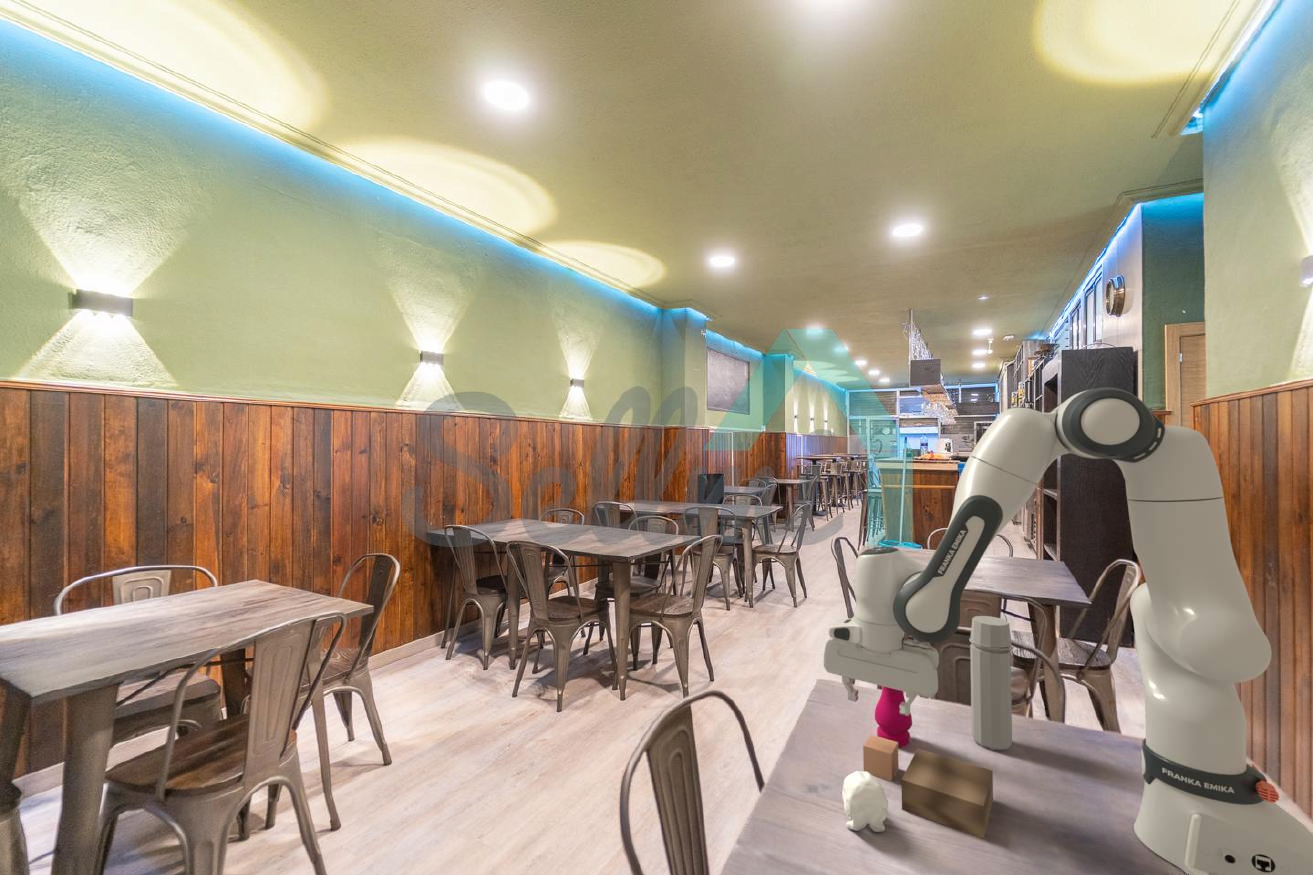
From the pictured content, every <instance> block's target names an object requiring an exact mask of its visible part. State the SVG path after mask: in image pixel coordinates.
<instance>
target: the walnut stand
mask: <svg viewBox="0 0 1313 875" xmlns="http://www.w3.org/2000/svg"><path fill="white" fill-rule="evenodd" d="M993 774H994V773H993V769H989V768H986V767H983V766H978V765H975V764H972V763H969V762H965V761H962V760H958V759H954V758H951V757H948V756H944V755H940V754H938V753H934V752H930V751H927V750H924V749H921V748H916V751H915V753H914V755H913V757H912V758H911V760H910V762H909V764H908V766H907V768H906V770H905V772H904V773H903V776H902V778H901V780H900V782H901V810H902V811H905V812H907V813H911V814H913V815H916V816H919V817H922V818H925V819H928V820H931V821H932V822H936V823H939V824H941V825H945V826H946V827H951V828H953V829H956V830H957V831H958V830H959V831H962V832H964V833H966V834H970V835H973V836H976V837H979V838H980V839H985V835H986V832H987V827H988V823H989V819H990V814H991V810H992V807H993V806H992V805H993V801H994V780H993V779H994V778H993V777H994V775H993Z"/></svg>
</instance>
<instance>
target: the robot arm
mask: <svg viewBox="0 0 1313 875" xmlns="http://www.w3.org/2000/svg"><path fill="white" fill-rule="evenodd" d="M1064 455H1070V456H1076V457H1083V458H1087V459H1092V460H1093V459H1096V460H1098V459H1107V460H1108V459H1109V460H1112V461H1114V462H1115V463H1116V464H1117V466H1118V467H1119V468H1120V471H1121V473H1122V475H1123V476H1122V477H1123V479H1124V480H1125V491H1126V492H1125V493H1126V501H1127V507H1128V508H1127V509H1128V518H1129V524H1130V532H1131V539H1132V540H1131V541H1132V546H1133V551H1134V553H1135V555H1136V556H1137V559H1138V561H1139V565H1140V567H1141V571H1142V574H1143V576H1144V580H1145V582H1143V583H1142V584H1139V586H1137V587H1136V588H1135V590H1134V591H1133V592H1132V594H1131V596H1130V600H1129V608H1130V613H1131V616H1132V621H1133V629H1134V638H1135V643H1136V644H1135V645H1136V650H1137V657H1138V662H1139V663H1138V664H1139V667H1140V672H1141V674H1140V675H1141V678H1142V683H1143V684H1142V685H1143V693H1144V712H1145V714H1144V715H1145V716H1144V718H1145V724H1144V726H1145V738H1143V739H1142V744H1141V745H1142V747H1141V752H1140V753H1141V754H1140V755H1141V756H1140V758H1141V773H1142V776H1143V779H1144V784H1143V785H1144V786H1143V793H1142V798H1141V802H1140V808H1139V812H1138V814H1137V818H1136V819H1135V821H1134V824H1133V831H1134V833H1135V835H1136V836H1137V838H1138V839H1139V840H1140V841H1141V842H1142V843H1143V844H1144V845H1145V846H1146V847H1147V848H1148V849H1149V850H1150V851H1152V852H1153V853H1155V854H1156V855H1158V856H1159V857H1160V858H1163V859H1164V860H1165V861H1167V862H1169V863H1170V864H1172V865H1174V866H1175V867H1177V868H1179V869H1180V870H1182V871H1183V872H1185V874H1187V875H1188V874H1189V875H1313V833H1312V831H1310V830H1309V828H1308V827H1307V826H1306V825H1305V824H1303V823H1302V822H1301V821H1300V820H1298V819H1297V818H1296V817H1294V815H1291V814H1290V813H1289V812H1288V811H1286V810H1285V809H1284V808H1283V807H1281V806H1280V805H1279V804H1278V803H1277V802H1278V801H1280V794H1279V793H1278V791H1277V790H1276V787H1275V785H1272V784H1271V783H1270V782H1268V780H1267V778H1266V776H1265V775H1264V773H1262V772H1260V771H1259V769H1258V768H1257V766H1255V765H1254V764H1253V763H1252V764H1249V763H1247V735H1246V734H1247V731H1246V729H1247V728H1246V727H1247V726H1246V713H1245V710H1244V707H1243V704H1242V703H1241V700H1240V698H1239V694H1238V692H1237V691H1238V690H1237V689H1236V686H1235V684H1239V683H1245V682H1248V681H1252V680H1255V679H1256V678H1258V677H1260V676H1261V675H1263V673H1265V671H1266V670H1267V669H1268V668H1269V665H1270V663H1271V660H1272V646H1271V644H1270V641H1269V639H1268V637H1267V636H1266V634H1265V633H1264V631H1263V629H1262V628H1261V626H1260V623H1259V621H1258V620H1257V617H1256V614H1255V611H1254V608H1253V605H1252V602H1251V599H1250V596H1249V593H1248V590H1247V588H1246V585H1245V582H1244V579H1243V577H1242V575H1241V572H1240V570H1239V567H1238V564H1237V561H1236V558H1235V555H1234V551H1233V547H1232V543H1231V536H1230V529H1229V523H1228V515H1227V509H1226V503H1225V497H1224V496H1225V495H1224V489H1223V484H1222V480H1221V479H1222V478H1221V475H1220V472H1219V469H1218V465H1217V462H1216V459H1215V456H1214V454H1213V452H1212V449H1211V447H1210V445H1209V442H1208V440H1207V438H1206V437H1205V435H1204V434H1202V433H1201V432H1200V431H1198V430H1195V429H1192V428H1190V427H1186V426H1182V425H1174V424H1173V425H1172V424H1166V425H1165V424H1164V423H1163V422H1162V421H1161V419H1159V418H1158V417H1157V416H1156V415H1155V414H1154V413H1153V412H1152V411H1151V409H1150V408H1149V407H1148V405H1146V404H1145V403H1144V401H1142V400H1141V399H1140V398H1139V397H1138V396H1136V395H1134V394H1133V393H1131V392H1130V391H1127V390H1125V389H1121V388H1117V387H1109V386H1108V387H1107V386H1105V387H1103V386H1102V387H1096V388H1095V387H1094V388H1091V389H1087V390H1084V391H1081V392H1078V393H1075V394H1073V395H1071V396H1070V397H1069V398H1067V399H1066V400H1064V401H1063V402H1061V403H1059V404H1058V405H1057V406H1055V407H1054V408H1051V409H1050V410H1049V411H1047V412H1042V411H1039V410H1036V409H1033V408H1030V407H1029V408H1028V407H1011V408H1007V409H1005V410H1004V411H1001V413H1000V414H999V415H998V416H997V417H996V418H995V419H994V420H993V421H992V423H991V424H990V425H989V426H988V428H987V429H986V431H985V432H984V433H983V434H982V436H981V437H980V439H979V440H978V441H977V443H976V444H975V446H974V448H973V450H972V451H971V452H970V455H969V457H968V459H967V461H966V463H965V464H964V467H963V469H962V471H961V473H960V477H959V479H958V481H957V486H956V490H955V494H954V501H953V507H952V512H951V517H950V521H949V524H948V526H947V529H946V530H945V533H944V535H943V537H942V539H941V540H940V542H939V544H938V545H937V548H936V550H935V551H934V553H933V555H932V556H931V559H930V561H929V562H928V563H927V565H925V564H922V562H921V563H920V562H918V561H917V560H914V559H912V558H911V557H909V556H908V555H906V554H905V553H904V552H902V551H901V550H900V548H897V547H893V546H891V547H890V546H879V547H878V546H877V547H873V548H869V549H865V550H864V551H863V552H861V553H860V554H859V555H858V556H857V559H856V562H855V568H854V580H853V581H854V582H853V583H854V584H853V585H854V586H853V593H854V597H855V609H854V612H853V617H850V618H843V619H842V618H841V619H839V620H837V621H836V622H834V623H832V625H830V627H829V628H828V636H829V638H828V639H827V640H826V642H825V644H824V651H823V667H824V669H825V671H826V672H827V673H828V674H829V673H830V674H834V675H836V676H841V682H842V684H843V686H844V688H845V689H846V691H847V699H848V701H852V702H857V701H858V699H859V689H855V687H854V684H853V683H852V680H857V681H860V682H865V683H869V684H873V685H877V686H880V687H882V686H884V687H888V688H892V689H896V690H900V691H903V692H905V697H906V698H907V699H908V700H907V701H906V702H901V704H900V714H902V715H906V716H909V714H910V713H911V704H913V702H914V701H915V699H916V698H917V696H920V697H924V698H929V699H931V698H933V697H934V696H935V695H936V694H937V692H938V690H939V678H938V669H937V668H938V667H939V665H940V654H939V652H938V650H937V649H936V648H935V647H934V646H931V644H937V643H941V642H944V641H947V640H948V639H950V638H951V637H953V636H954V634H955V633H956V632H957V630H958V628H959V625H960V620H961V602H962V601H961V600H962V597H963V596H962V595H963V594H964V590H965V589H966V587H967V585H968V584H969V581H970V579H971V577H973V576H972V575H973V574H974V572H975V570H976V568H977V567H978V565H979V563H980V561H981V559H982V558H983V557H984V554H985V553H986V551H987V550H988V547H989V546H990V544H991V543H992V542H993V541H994V539H995V538H996V537H997V536H998V535H999V534H1000V533H1001V531H1002V530H1003V529H1004V528H1005V527H1006V526H1007V525H1008V524H1009V522H1011V521H1012V520H1013V518H1014V517H1015V516H1016V515H1017V514H1018V513H1019V512H1020V511H1021V510H1022V508H1023V507H1024V506H1025V505H1026V503H1027V502H1028V500H1029V499H1030V498H1031V496H1032V495H1033V494H1034V492H1035V490H1036V488H1037V487H1038V485H1039V483H1040V481H1041V480H1042V479H1043V476H1044V474H1045V472H1047V470H1048V469H1049V467H1050V466H1051V465H1052V463H1053V462H1054V461H1055V460H1056V459H1058V458H1059V457H1061V456H1064ZM905 634H906V635H907V636H909V637H911V639H909V638H905Z"/></svg>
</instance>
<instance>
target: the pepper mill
mask: <svg viewBox="0 0 1313 875" xmlns="http://www.w3.org/2000/svg"><path fill="white" fill-rule="evenodd" d="M881 689H882V690H881V695H880V698H879V699H878V702H877V704H876V705H875V710H874V720H875V722H876V724H877V725H878V727H877V730H876V731H877V732H876V733H877V734H876V736H878V737H881V738H885V739H888V740H892V741H895V742H898V748H904V747H908V746H909V745H910V743H911V736H910V731H909V730H910V729H911V728H912V726H913V716H912V713H911V712H910V714H909V716H906V715H902V714H900V704H901V702H907V701H906V699H905V695H904V691H900V690H896V689H892V688H888V687H884V686H881Z"/></svg>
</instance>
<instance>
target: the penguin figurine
mask: <svg viewBox="0 0 1313 875" xmlns="http://www.w3.org/2000/svg"><path fill="white" fill-rule="evenodd" d="M840 794H841V795H842V801H843V805H844V806H843V807H844V815H845V817H848V816H850V817H851V819H850V820H848V821H847V822H846V824H845V825H846V826H845V827H846V828H847V829H849V830H852V831H856V832H858V831H860V830H862V829H863V828H866V827H867V825H869V827H870V829H871V830H872V831H873V832H875V833H882V832H884V831H885V825H884V821H886V819H887V816H888V809H889V800H888V798H887V795H886V792H885V790H884V788H883V785H882V784H881V782H880V781H879V780H877V779H876V778H875V776H874V775H871V774H870V773H869V772H866V771H864V770H863V771H860V770H856V771H854V772H851V773H850V774H848V775H847V776H846V777H845V778H844V780H843V786H842V792H840Z"/></svg>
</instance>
